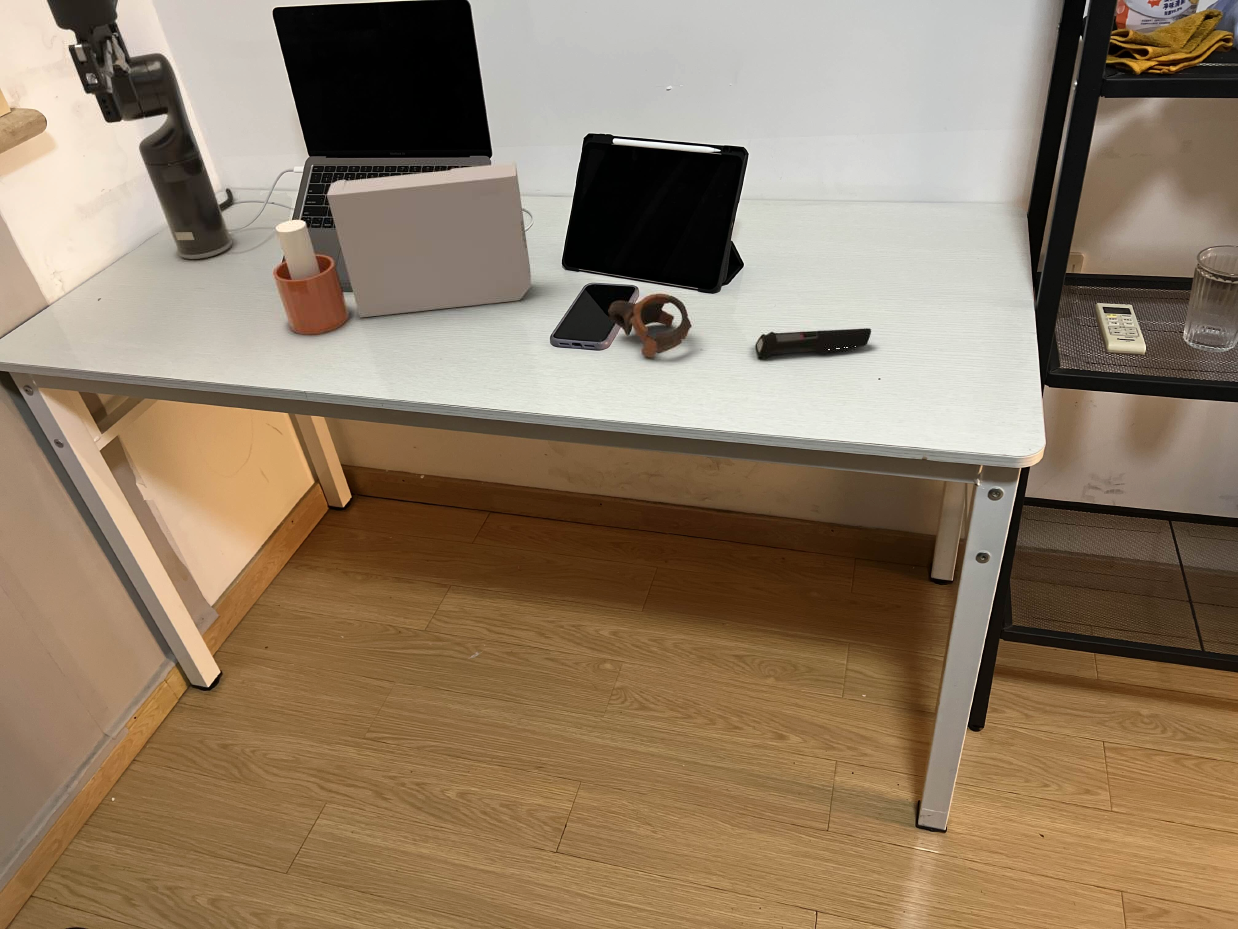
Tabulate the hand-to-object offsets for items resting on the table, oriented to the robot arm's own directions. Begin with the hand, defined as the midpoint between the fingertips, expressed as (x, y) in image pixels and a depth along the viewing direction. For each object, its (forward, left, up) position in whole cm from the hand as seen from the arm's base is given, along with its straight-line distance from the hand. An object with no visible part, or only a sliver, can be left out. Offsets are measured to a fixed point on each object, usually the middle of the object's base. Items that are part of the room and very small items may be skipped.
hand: (123, 111), depth 129 cm
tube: (+8, +20, -31) cm, 38 cm away
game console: (+7, +40, -32) cm, 51 cm away
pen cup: (+8, +20, -32) cm, 38 cm away
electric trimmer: (+36, +90, -32) cm, 102 cm away
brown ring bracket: (+28, +69, -32) cm, 81 cm away
